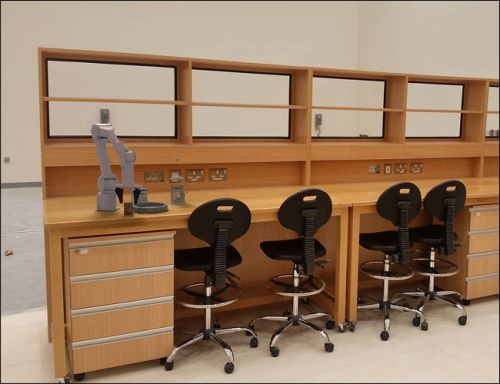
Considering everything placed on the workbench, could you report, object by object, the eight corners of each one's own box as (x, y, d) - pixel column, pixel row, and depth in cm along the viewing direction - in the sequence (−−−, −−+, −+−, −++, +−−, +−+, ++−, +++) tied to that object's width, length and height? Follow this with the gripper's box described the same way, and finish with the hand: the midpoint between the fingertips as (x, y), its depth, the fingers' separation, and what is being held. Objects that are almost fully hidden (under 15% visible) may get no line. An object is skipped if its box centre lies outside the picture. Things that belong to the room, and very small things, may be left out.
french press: (167, 201, 280) (167, 157, 276) (188, 200, 283) (187, 157, 279) (169, 204, 270) (169, 159, 267) (190, 203, 273) (190, 159, 270)
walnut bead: (122, 214, 239) (122, 202, 238) (126, 213, 244) (126, 201, 243) (130, 215, 238) (130, 203, 237) (134, 213, 243) (134, 201, 242)
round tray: (125, 211, 247) (125, 206, 246) (140, 205, 264) (140, 201, 264) (159, 213, 243) (159, 208, 243) (172, 207, 260) (172, 202, 260)
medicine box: (134, 205, 265) (134, 189, 264) (131, 204, 269) (130, 188, 268) (147, 204, 270) (147, 188, 269) (144, 203, 274) (144, 187, 272)
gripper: (110, 176, 236) (111, 204, 238) (138, 177, 233) (138, 205, 235) (116, 175, 243) (117, 202, 245) (144, 175, 240) (144, 203, 242)
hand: (128, 203), depth 240 cm, fingers open, 7 cm apart
